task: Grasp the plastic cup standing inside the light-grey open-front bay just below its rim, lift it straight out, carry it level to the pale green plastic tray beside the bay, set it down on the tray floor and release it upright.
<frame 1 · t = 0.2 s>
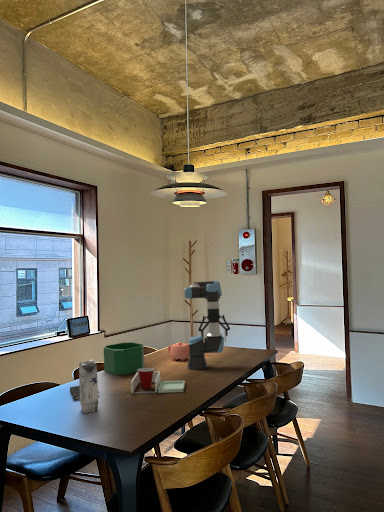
hand: (214, 341, 251), 28 cm above the table, fingers open, 13 cm apart
teapot: (181, 359, 328), on the table
bay: (146, 387, 254), on the table
plastic cup: (146, 387, 254), resting in bay
tray: (171, 388, 250), on the table
juice carton: (89, 410, 217), on the table
planter: (124, 369, 303), on the table
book: (84, 394, 247), on the table
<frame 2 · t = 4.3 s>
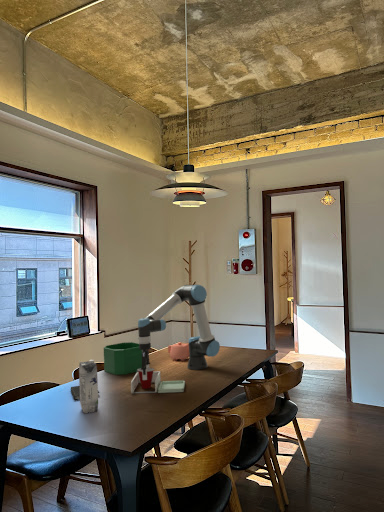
hand: (146, 377, 254), 6 cm above the table, fingers closed on plastic cup, 11 cm apart
plastic cup: (146, 387, 254), resting in bay, touching gripper
everything else where it was.
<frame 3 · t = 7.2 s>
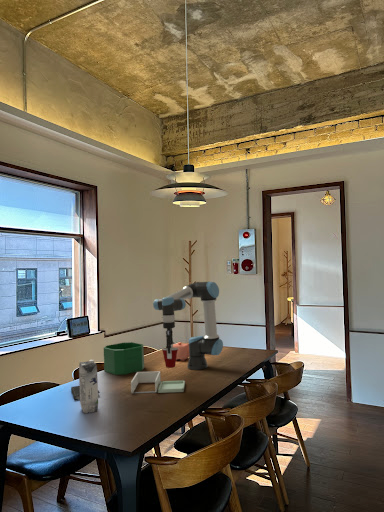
hand: (170, 356, 251), 20 cm above the table, fingers closed on plastic cup, 11 cm apart
plastic cup: (170, 367, 251), point 13 cm above the table, touching gripper
everything else where it was.
when the fingers open (7 cm above the table, at t = 10.1 s): plastic cup stays where it is, resting on tray.
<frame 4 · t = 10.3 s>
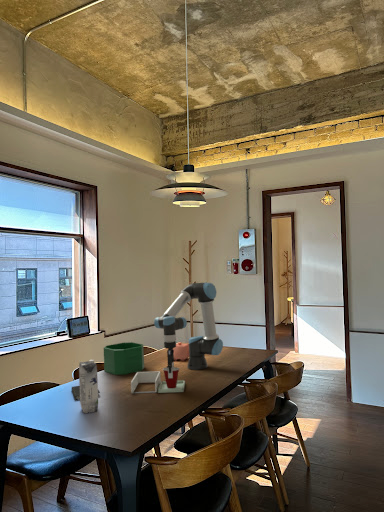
hand: (171, 375, 251), 8 cm above the table, fingers open, 12 cm apart
plastic cup: (171, 387, 250), resting on tray
everything else where it was.
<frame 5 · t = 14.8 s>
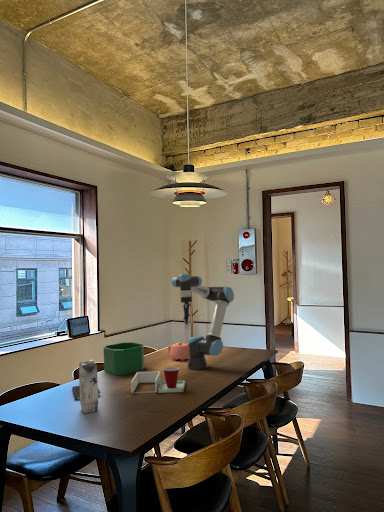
hand: (187, 327, 271), 35 cm above the table, fingers open, 13 cm apart
at the end: plastic cup inside the target area on the tray (0.0 cm from its centre), point 0.4 cm above the tray's base; plastic cup tilted 0°; the gripper is holding nothing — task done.
